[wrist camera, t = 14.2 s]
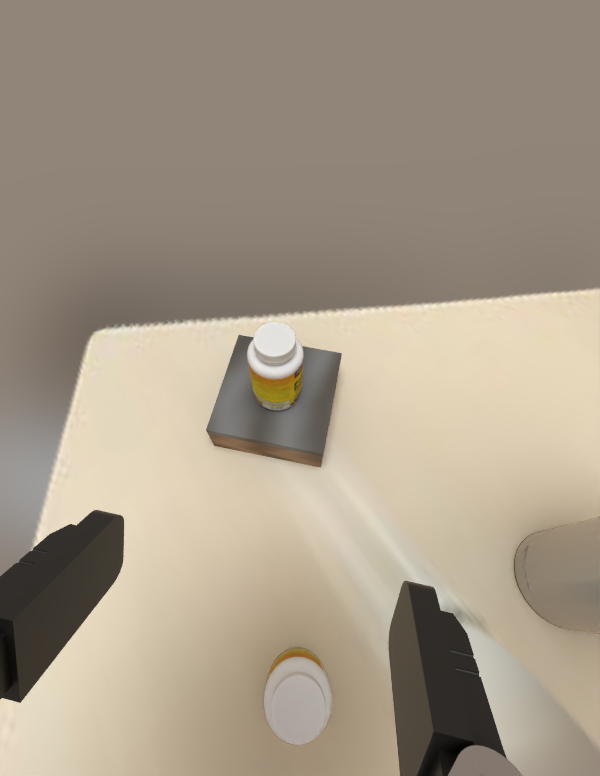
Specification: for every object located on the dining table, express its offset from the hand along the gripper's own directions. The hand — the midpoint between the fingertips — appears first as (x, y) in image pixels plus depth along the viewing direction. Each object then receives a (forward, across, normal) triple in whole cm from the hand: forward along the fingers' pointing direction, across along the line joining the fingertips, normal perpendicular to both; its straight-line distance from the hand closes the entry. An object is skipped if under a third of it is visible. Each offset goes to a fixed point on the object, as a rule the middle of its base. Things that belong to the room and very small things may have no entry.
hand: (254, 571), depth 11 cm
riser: (+37, +5, +9) cm, 38 cm away
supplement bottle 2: (+18, -3, +28) cm, 34 cm away
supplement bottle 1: (+33, +5, +6) cm, 34 cm away
